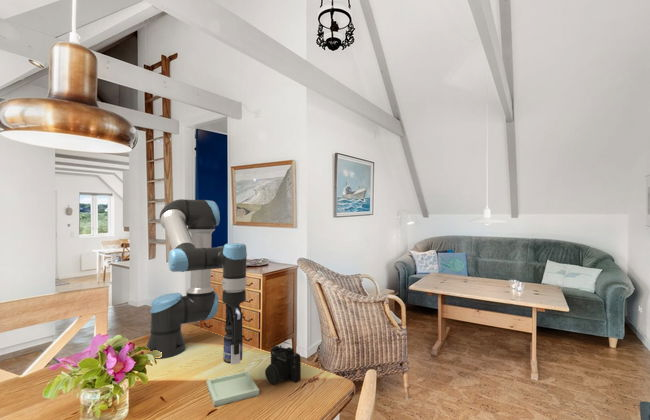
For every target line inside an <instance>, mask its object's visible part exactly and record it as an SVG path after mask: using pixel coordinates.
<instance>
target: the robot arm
mask: <svg viewBox="0 0 650 420" xmlns="http://www.w3.org/2000/svg"><path fill="white" fill-rule="evenodd" d="M220 215H221V214H220V210H219V206H218V204H217V203H216V202H215V201H214V200H208V199H207V200H206V199H176V200H172V201H170V202H168V203H167V204H166V205H165V206H164V207H163V208H162V209H161V211H160V213H159V223H160V225H161V227H162V228H164V229H165V232H166V235H167V239H168V242H169V244H170V247H171V249H170V251H169V252H168V260H167V262H168V268H169V270H170V271H171V272H173V273H175V272H176V273H177V272H178V273H179V272H181V273H185V272H190V279H189V280H190V284H189V285H190V286H189V288H188V289H186V293H185V294H186V295H182V293H180V292H175V293H174V292H172V293H166V294H163V295H159V296H157V297H155V298H154V299H153V300H152V301H151V305H150V335H149V337H148V339H147V344H146V346H145V348H146V347H148V348H149V349H150V351H153V350H158V351H160V352H162V357H161V358H160V359H166V358H170V357H174V356H177V355H178V354H181V353H183V351H185V348H186V342H185V339H184V336H183V332H182V325H183V324H188V323H189V324H190V323H196V322H201V321H202V322H203V321H207V320H211V319H213V318H214V317H215V316H216V315H217V312H218V308H219V295H218V293H217V292H215V289H214V288H213V287H212V286H211V283H212V277H211V275H212V270H219V269H222V279H223V280H221V281H220V284H221V285H222V290H223V291H222V297H221V298H222V302H223V304H225V327H224V328H225V330H224V331H225V334H227V332H226V327H227V326H229V325H232V343H230V345H231V364H230V365H231V366H232V365H237V364H240V363H241V361H240V344H242V335H243V318H244V317H243V316H244V313H243V312H242V307H241V303H244V302H245V301H246V299H247V297H246V296H247V295H246V294H247V291H246V289H247V257H248V253H247V252H248V251H247V245H246V244H245V243H238V242H236V243H235V242H234V243H233V242H232V243H231V242H230V243H225V244H224V245H221V246H217V247H216V246H215V247H212V234H213V232H214V231H216V227H217V226H219V224H220V221H221V217H220Z"/></svg>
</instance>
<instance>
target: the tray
mask: <svg viewBox="0 0 650 420" xmlns="http://www.w3.org/2000/svg"><path fill="white" fill-rule="evenodd" d="M206 387H207V390H208V393H209V396H210V399H211V402H212V405H213V407H214V408H215V407H219V406H223V405H226V404H231V403H234V402H235V403H236V402H239V401H243V400H246V399H249V398H253V397H257V396H260V388H259V387H258V386H257V384H256V383H255V381H254V379H253V378H252V376H251V375H250V373H249V371H247V370H245V371H242V372H236V373H233V374H227V375H223V376H218V377H214V378H210V379H206Z"/></svg>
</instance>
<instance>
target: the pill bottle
mask: <svg viewBox="0 0 650 420" xmlns="http://www.w3.org/2000/svg"><path fill="white" fill-rule="evenodd" d="M225 327H226V326H225ZM226 333H227V334H226ZM243 337H244V336H243V334H242V344H240V362H241V361H242V360H243V343H244V342H243V340H244V339H243ZM230 343H232V325H229V326H227V327H226V332H225V334H224V336H223V354H222V355H223V357H222V359H223V362H224V363H225V364H230V365H231V345H230Z"/></svg>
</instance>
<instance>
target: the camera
mask: <svg viewBox="0 0 650 420" xmlns="http://www.w3.org/2000/svg"><path fill="white" fill-rule="evenodd" d="M301 360H302V359H301V355H300V354H299V352H294V348H293V347H290V346H289V347H286V348H285V347H282V345H274V346H272V348H271V349H270V364H269V365H268V366H266V368H265V370H264V374H265V379H266V380H267V382H269V384H272V385H275V384H277V383H279V382H281V381H291V382H293V383H295V384H296V383H299V382H300V381H301V380H302V379H301V377H302V376H301V375H302V373H301V368H302V367H301V366H302V363H301ZM298 381H299V382H298Z"/></svg>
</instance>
